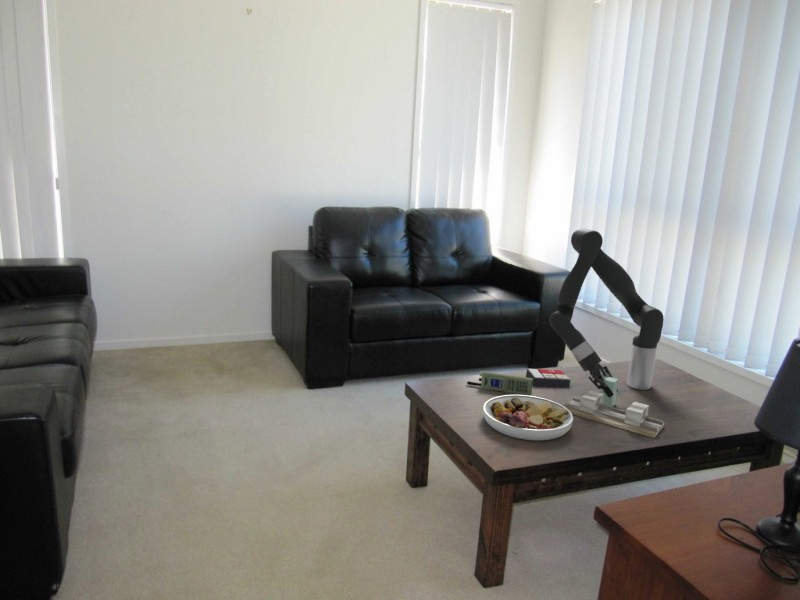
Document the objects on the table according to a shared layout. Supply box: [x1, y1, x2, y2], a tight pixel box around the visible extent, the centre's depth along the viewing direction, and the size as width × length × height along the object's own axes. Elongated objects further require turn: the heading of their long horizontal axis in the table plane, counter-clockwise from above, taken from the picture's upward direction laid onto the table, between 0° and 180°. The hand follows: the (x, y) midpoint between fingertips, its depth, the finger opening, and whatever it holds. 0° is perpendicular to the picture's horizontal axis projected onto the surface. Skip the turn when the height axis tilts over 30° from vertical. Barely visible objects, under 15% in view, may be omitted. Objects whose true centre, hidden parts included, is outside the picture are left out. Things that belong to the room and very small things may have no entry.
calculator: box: [525, 368, 571, 387], centre depth 257 cm, size 11×4×15 cm
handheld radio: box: [466, 370, 533, 396], centre depth 245 cm, size 7×3×25 cm
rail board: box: [564, 389, 665, 439], centre depth 222 cm, size 12×32×7 cm, turn 53°
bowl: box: [482, 394, 574, 441], centre depth 214 cm, size 30×30×8 cm
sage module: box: [600, 377, 619, 407], centre depth 234 cm, size 4×4×10 cm
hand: (613, 394), depth 233 cm, fingers closed on sage module, 4 cm apart
